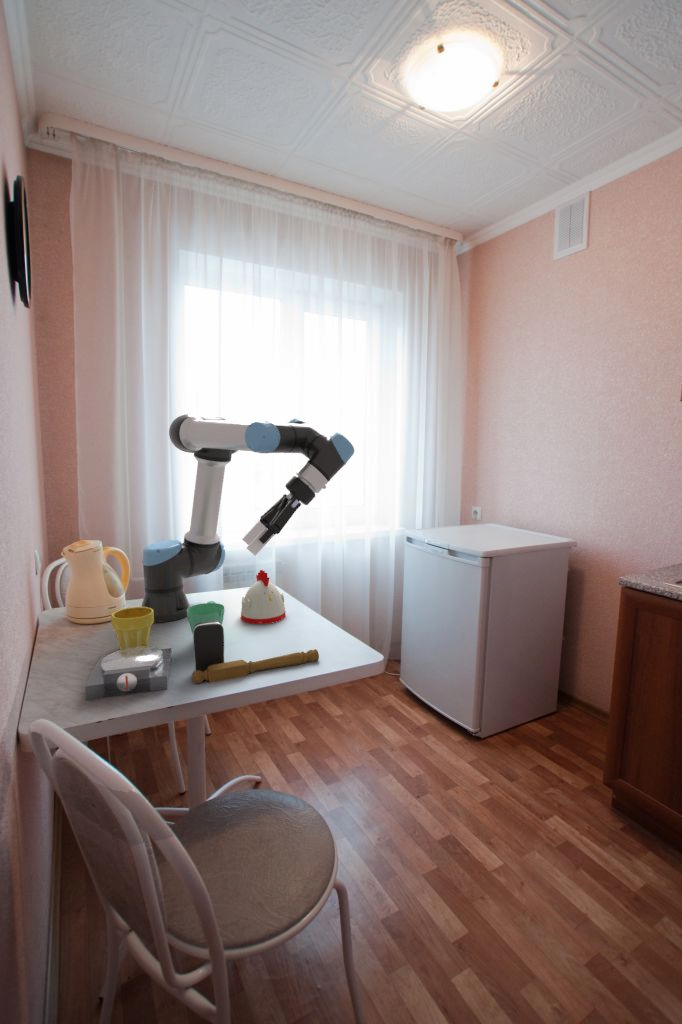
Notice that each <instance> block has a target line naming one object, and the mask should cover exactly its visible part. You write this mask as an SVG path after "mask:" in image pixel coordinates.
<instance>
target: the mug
mask: <svg viewBox="0 0 682 1024" xmlns="http://www.w3.org/2000/svg"><path fill="white" fill-rule="evenodd" d="M224 616H225V606H224V605H223V604H221V603H219V602H218V603H216V602H215V600H214V601H213V600H209V601H207V602H206V603H199V604H198V603H197V604H195V605H194V604H193V605H190V607H189V608H188V609H187V616H186V617H187V621H188V625H189V628H190V631H191V633H192V635H193V630H194V626H195V625H196V624H197V623H200V622H207V621H219V622H220V623H221V624H222V625H223V624H224V623H223V621H224Z"/></svg>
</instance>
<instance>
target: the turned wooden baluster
mask: <svg viewBox="0 0 682 1024" xmlns="http://www.w3.org/2000/svg"><path fill="white" fill-rule="evenodd" d="M319 659H320V653H319V651H318V649H309V650H307V651H306V652H304V651H300V652H294V653H289V654H284V655H279V656H275V657H274V656H273V657H270V658H266V659H262V660H257V661H252V660H250V661H248V662H247V661H246V660H245V659H244V660H243V659H238V660H232V661H226V662H224V663H220V664H214V665H209V666H208V668H207V670H205V671H204V672H202V671H200V670H197V671H195V670H194V671H193V672H192V675H191V681H192V683H194V684H200V683H202V682H203V681H206V682H208V683H209V684H211V683H218V682H224V681H229V680H233V679H237V678H243V677H247V676H248V674H249V673H250V674H253V673H254V672H259V671H265V670H272V669H277V668H278V667H279V668H285V667H289V666H296V665H297V664H298V665H301V664H306V662H308V661H310V663H312V662H311V661H314V662H316V661H315V660H318V661H319ZM284 666H285V667H284Z"/></svg>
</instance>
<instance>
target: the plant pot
mask: <svg viewBox="0 0 682 1024" xmlns="http://www.w3.org/2000/svg"><path fill="white" fill-rule="evenodd" d="M110 617H111V619H110V620H111V628H112V629H113V630H114V631H115V635H116V638H117V643H118V646H119V649H120V650H122V649H126V648H131V647H139V646H149V639H150V634H151V628H152V625H153V624H154V623H155V622H154V611H153V609H151V608H149V607H141V606H132V607H125V608H121V609H118V610H115V611H114V612H112V613H111V616H110Z"/></svg>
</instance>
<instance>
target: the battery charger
mask: <svg viewBox="0 0 682 1024" xmlns="http://www.w3.org/2000/svg"><path fill="white" fill-rule="evenodd" d="M224 634H225V632H224V626H223V623H222V624H221V623H220V622H219V621H207V622H200V623H197V624H196V625H195V626H194V630H193V634H192V637H193V639H192V640H193V641H192V643H193V653H194V666H195V667H194V672H195V671H197V670H200V671H202V672H204V671H205V670H207V668H208V666H209V665H214V664H220V663H225V635H224Z"/></svg>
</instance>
